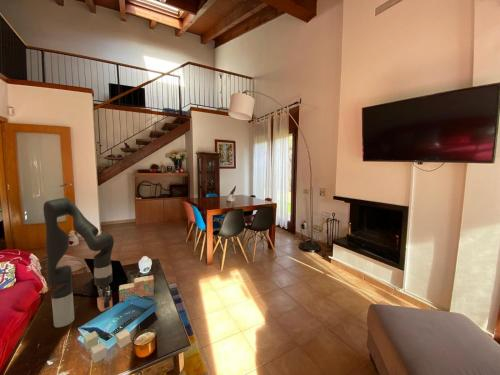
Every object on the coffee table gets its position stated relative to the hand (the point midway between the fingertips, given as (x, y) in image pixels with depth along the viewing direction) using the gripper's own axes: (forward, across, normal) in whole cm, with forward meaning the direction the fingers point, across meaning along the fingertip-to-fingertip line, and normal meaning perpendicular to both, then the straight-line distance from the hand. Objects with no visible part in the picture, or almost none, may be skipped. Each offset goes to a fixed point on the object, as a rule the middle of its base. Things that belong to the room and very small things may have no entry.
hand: (105, 305), depth 112 cm
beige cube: (+21, +6, -6) cm, 23 cm away
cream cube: (+21, +6, +5) cm, 23 cm away
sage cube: (+21, -5, -6) cm, 22 cm away
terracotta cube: (+1, 0, 0) cm, 1 cm away
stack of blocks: (+21, -29, +28) cm, 46 cm away
